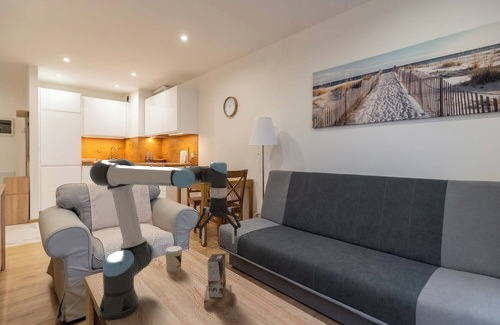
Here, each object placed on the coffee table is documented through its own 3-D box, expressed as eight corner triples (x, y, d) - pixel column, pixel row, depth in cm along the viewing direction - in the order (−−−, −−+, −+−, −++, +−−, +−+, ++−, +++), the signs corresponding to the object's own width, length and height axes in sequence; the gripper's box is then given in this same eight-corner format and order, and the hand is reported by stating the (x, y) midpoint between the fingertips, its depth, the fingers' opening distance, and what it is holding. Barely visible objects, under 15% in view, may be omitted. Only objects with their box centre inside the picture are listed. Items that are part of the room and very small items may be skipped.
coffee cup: (179, 273, 144) (179, 252, 144) (162, 273, 144) (162, 251, 144) (184, 265, 154) (184, 245, 153) (168, 265, 154) (168, 245, 153)
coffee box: (222, 297, 115) (221, 261, 114) (208, 297, 115) (206, 261, 115) (226, 287, 124) (225, 253, 123) (213, 286, 124) (212, 253, 124)
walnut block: (204, 309, 114) (204, 300, 113) (206, 293, 126) (206, 285, 125) (231, 308, 115) (231, 299, 114) (231, 292, 126) (231, 284, 126)
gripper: (189, 198, 113) (189, 246, 114) (246, 198, 114) (246, 245, 116) (191, 195, 120) (191, 240, 121) (245, 195, 122) (245, 239, 123)
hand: (218, 243), depth 118 cm, fingers open, 13 cm apart
